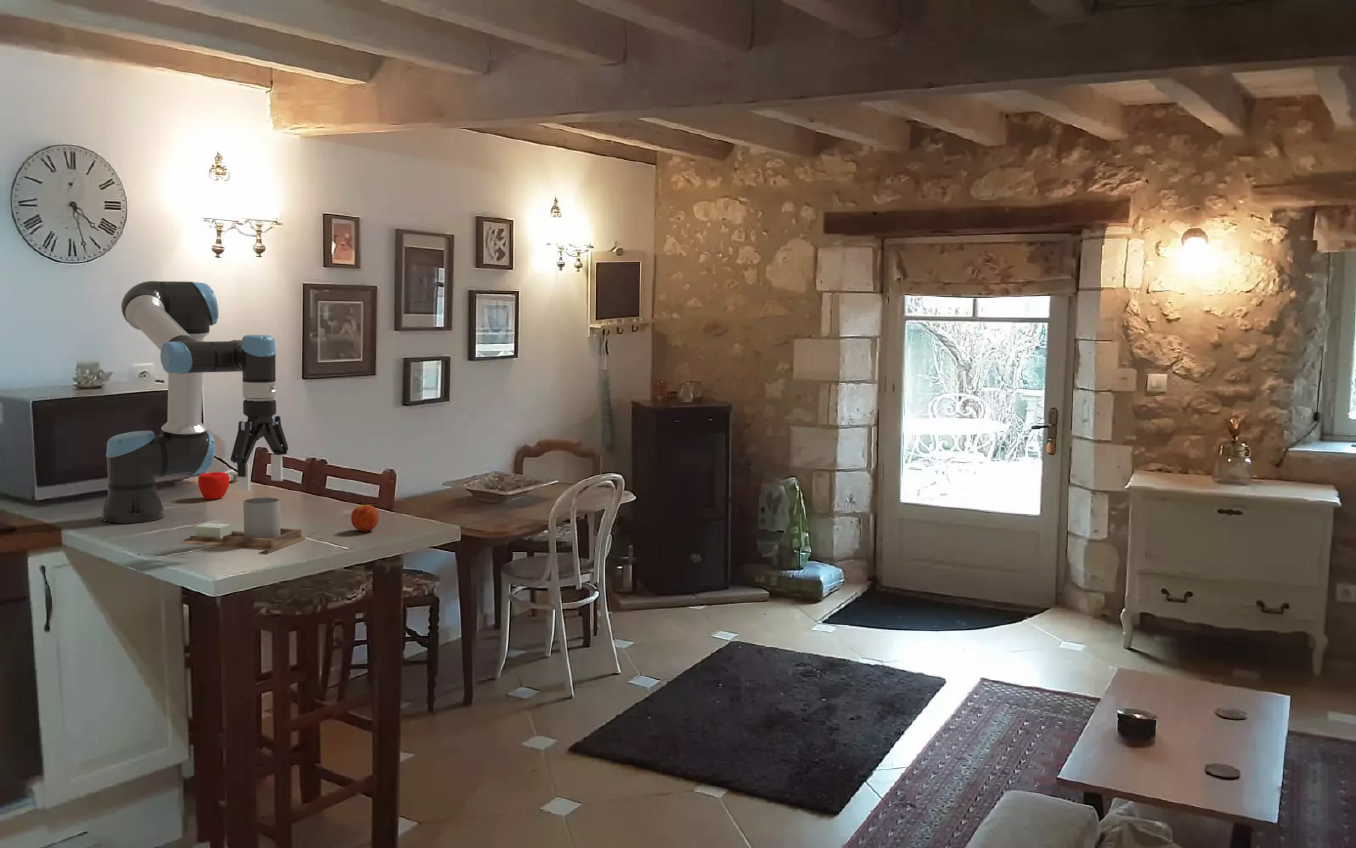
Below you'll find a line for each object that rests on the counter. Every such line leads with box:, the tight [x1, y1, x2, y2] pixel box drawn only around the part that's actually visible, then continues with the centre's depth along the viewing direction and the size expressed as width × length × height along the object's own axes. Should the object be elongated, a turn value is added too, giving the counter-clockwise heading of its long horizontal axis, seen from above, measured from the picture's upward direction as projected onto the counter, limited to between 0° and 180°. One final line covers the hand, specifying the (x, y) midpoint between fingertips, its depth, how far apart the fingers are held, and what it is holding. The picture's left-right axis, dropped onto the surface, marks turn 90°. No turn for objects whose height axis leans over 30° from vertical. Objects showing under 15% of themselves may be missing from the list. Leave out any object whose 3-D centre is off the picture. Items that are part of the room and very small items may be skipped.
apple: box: [197, 471, 230, 501], centre depth 326 cm, size 9×9×8 cm
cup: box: [242, 497, 281, 539], centre depth 267 cm, size 8×8×10 cm
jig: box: [180, 527, 306, 555], centre depth 268 cm, size 24×16×3 cm, turn 77°
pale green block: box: [194, 522, 232, 538], centre depth 270 cm, size 7×4×3 cm, turn 77°
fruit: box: [350, 500, 380, 533], centre depth 285 cm, size 7×7×8 cm
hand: (261, 485), depth 266 cm, fingers open, 13 cm apart
